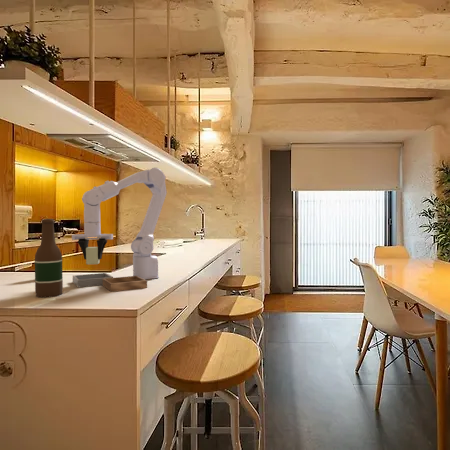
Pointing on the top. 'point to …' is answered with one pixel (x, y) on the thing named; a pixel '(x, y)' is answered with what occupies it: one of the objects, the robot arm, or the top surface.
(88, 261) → the sage block
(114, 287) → the walnut bin
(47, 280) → the beer bottle
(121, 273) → the top surface
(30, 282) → the top surface
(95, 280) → the grey bin
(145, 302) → the top surface
